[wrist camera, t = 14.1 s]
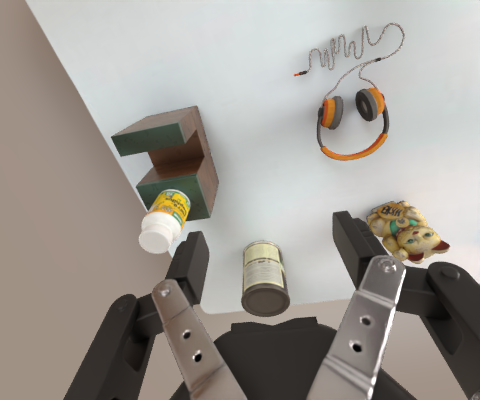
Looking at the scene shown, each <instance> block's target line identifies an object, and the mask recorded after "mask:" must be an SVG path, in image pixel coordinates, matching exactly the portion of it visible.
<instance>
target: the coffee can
mask: <svg viewBox="0 0 480 400" xmlns="http://www.w3.org/2000/svg"><path fill="white" fill-rule="evenodd" d="M241 303H242V306H243V308H244V309H245V310H246V311H247V312H248V313H250V314H252V315H255V316H260V317H271V316H276V315H279V314H281V313H283V312H284V311H285V310H286V309H287V308H288V307H289V305H290V298H289V295H288V290H287V284H286V278H285V272H284V266H283V260H282V252H281V250H280V248H279V247H278V246H277V245H276V244H274V243H272V242H268V241H257V242H254V243H252V244H250V245H248V246H247V247H246V248H245V250H244V253H243V289H242V300H241Z"/></svg>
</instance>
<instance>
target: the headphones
mask: <svg viewBox="0 0 480 400" xmlns="http://www.w3.org/2000/svg"><path fill="white" fill-rule="evenodd" d="M389 25H396V26H398V27H399V28H400V29H401V31H402V34H403V40H402V43H401V45H400V47H399V48H398V50H396V51H395V52H394V53H392V54H391V55H389V56H386V57H383V58H377V59H375V60H371V61H368V62H365V63H362V64H360V65H358V66H356V67H354V68H353V69H351V70H350V71H349V72H347V73H346V74H345V75H344V76H343V77H342V78H341V79H340V80H339V81H338V83H337V85H336V86H335V88H334V89H333V90H331V91H330V92H329V93H328V94H327V95H326V96H325V98H324V99H323V101H322V104H321V108H319V111H318V122H317V140H318V143H319V145H320V147H321V151H322V152H323V153H324V154H326V155H327V156H328V157H330V158H333V159H336V160H344V161H346V160H354V159H359V158H362V157H365V156H367V155H369V154H371V153H373V152H374V151H376V150H377V149H378V148H379V147H380V146H381V145H382V144H383V143H384V141H385V140H386V138H387V136H388V135H387V132H388V129H389V116H388V111H387V108H386V105H385V102H384V96H383V94H382V93H380V91H379V90H378V88H377V87H376V85H375V84H374V83H373V82H371V81H370V80H367V79H365V78H362V77H361V76H360V73H361V71H362V69H363V68H364V67H365V66H367V65H369V64H371V63H373V62H377V61H380V60H382V59H385V58H388V57H390V56H392V55H394V54H395V53H396V52H398V51H399V49H400V48H401V46H402V45H403V42H404V38H405V35H404V31H403V29H402V27H401V26H400V25H399V24H396V23H390V24H388V25H387V26H386V27H385V29H384V30H383V32H382V34H381V36H380V38H379V40H378V41H377V42H376V43H374V44H371V42H370V39H369V35H368V28H367V26H364V27H363V29H362V53H361V56H360V57H357V56H356V45H355V42H354V41H352V42H351V43H350V45H349V54H348V56H347V55H346V41H345V36H344V35H340V36H339V48H338V52H336V45H335V39H334V38H332V40H331V50H332V57H333V68H332V69H331V68H330V60H329V52H328V49H325V50H324V56H325V64H324V65H323V64H322V55H321V51H320V50H319V49H318V48H315V49H312V50H311V51H310V54H309V64H310V68H309V70H308V71H303V72H300V73H298V74H294V76H297V75H303V74H306V73H308V72H309V71H310V69H311V52H312V51H314V50H318V51H319V53H320V59H321V66H322V67H325V65H326V51H327V56H328V66H329V70H333V69H334V65H335V63H334V53H333V45H332V41H333V40H334V51H335V53H336V54H338V53H339V51H340V37H341V36H343V38H344V49H345V56H346V57H349V56H350V47H351V44H352V43H354V56H355V58H356V59H360V58H361V57H362V55H363V42H364V28H366V33H367V39H368V42H369V44H370V45H372V46H373V45H376V44H377V43H378V42H379V41H380V39H381V37H382V35H383V33H384V31H385V30H386V28H387V27H388V26H389ZM364 64H366V65H364ZM362 65H364V66H363V67H362V68H361V70H360V71H359V78H361V79H363V80H365V81H368V82H370V83H371V84H372V85H373V86H374V87H375V88H376V89H375V88H370V89H367V90H366V89H362V90H360V91H359V92H357V94H356V99H355V100H356V106H357V109H358V111H359V113H360V115H361V116H362V117H363V119H365V120H366V121H369V122H370V121H372V120H374V119H376V118H377V115H379V114H380V113H383V118H384V128H383V132H382V133H381V134H380V135H379V137H378V139H377V140H376V141H375V142H374V143H373V144H372V145H371V146H370V147H369V148H367V149H366V150H364V151H362V152H359V153H356V154H352V155H339V154H335V153H333V152H331V151H330V150H328V149H327V148H326V147H325V146H323V144H322V142H321V138H320V125H322V126H324V127H328V128H329V129H330V130H334V129H336V128H337V127H338V125H339V124H340V121H341V118H342V113H343V100H342V98H341V97H340V96H334V97H333V98H332V99H326V97H327V96H328V95H329V94H330V93H331V92H332V91H334V90H335V89H336V87H337V86H338V84H339V82H340V81H341V80H342V79H343V78H344V77H345V76H346V75H347V74H348V73H350V72H351V71H352V70H354V69H355V68H357V67H359V66H362ZM325 99H326V100H325ZM324 100H325V101H324Z"/></svg>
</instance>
